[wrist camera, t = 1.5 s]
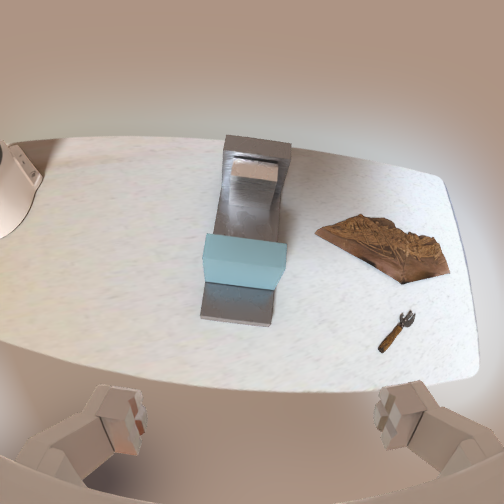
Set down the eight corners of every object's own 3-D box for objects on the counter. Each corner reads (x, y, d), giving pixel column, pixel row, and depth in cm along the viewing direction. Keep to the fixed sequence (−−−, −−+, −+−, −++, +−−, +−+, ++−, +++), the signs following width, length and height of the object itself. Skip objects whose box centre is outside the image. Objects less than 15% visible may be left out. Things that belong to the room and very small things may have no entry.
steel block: (269, 209, 47) (277, 181, 40) (228, 204, 46) (230, 175, 40) (270, 193, 48) (278, 164, 42) (231, 187, 48) (233, 157, 41)
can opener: (380, 354, 42) (384, 353, 41) (371, 342, 42) (375, 340, 41) (417, 318, 44) (421, 316, 43) (409, 306, 45) (412, 304, 44)
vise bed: (268, 327, 42) (282, 309, 33) (201, 318, 41) (195, 298, 32) (279, 180, 52) (291, 138, 43) (225, 173, 51) (227, 129, 42)
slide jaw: (274, 290, 42) (285, 268, 34) (205, 281, 41) (202, 258, 34) (275, 268, 43) (287, 243, 36) (208, 260, 42) (206, 233, 35)
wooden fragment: (448, 245, 51) (451, 242, 50) (447, 300, 46) (451, 298, 45) (321, 199, 52) (323, 195, 51) (309, 257, 47) (311, 254, 46)
